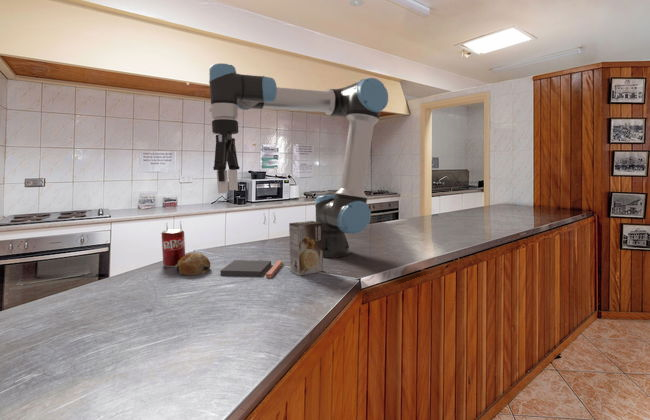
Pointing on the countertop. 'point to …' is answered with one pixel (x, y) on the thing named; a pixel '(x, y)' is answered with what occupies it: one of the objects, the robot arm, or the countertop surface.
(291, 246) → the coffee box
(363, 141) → the robot arm
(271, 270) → the pink bar
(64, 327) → the countertop surface
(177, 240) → the soda can
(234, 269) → the mat
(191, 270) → the bread roll
